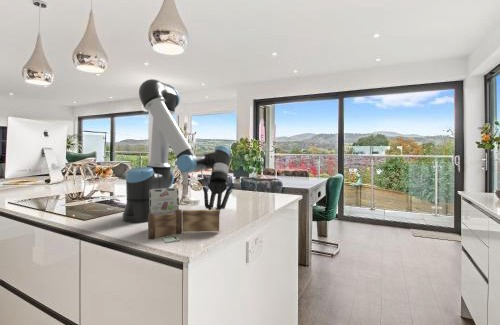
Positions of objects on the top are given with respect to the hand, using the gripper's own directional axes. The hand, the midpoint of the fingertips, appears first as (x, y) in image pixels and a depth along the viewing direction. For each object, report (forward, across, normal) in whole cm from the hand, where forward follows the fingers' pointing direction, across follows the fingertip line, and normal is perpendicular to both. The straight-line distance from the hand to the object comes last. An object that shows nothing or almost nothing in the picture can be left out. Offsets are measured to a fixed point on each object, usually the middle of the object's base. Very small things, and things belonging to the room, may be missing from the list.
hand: (212, 223), depth 111 cm
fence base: (+7, +16, +4) cm, 18 cm away
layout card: (+10, +12, +7) cm, 18 cm away
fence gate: (+4, +4, +1) cm, 5 cm away
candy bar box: (+2, +20, -3) cm, 20 cm away
